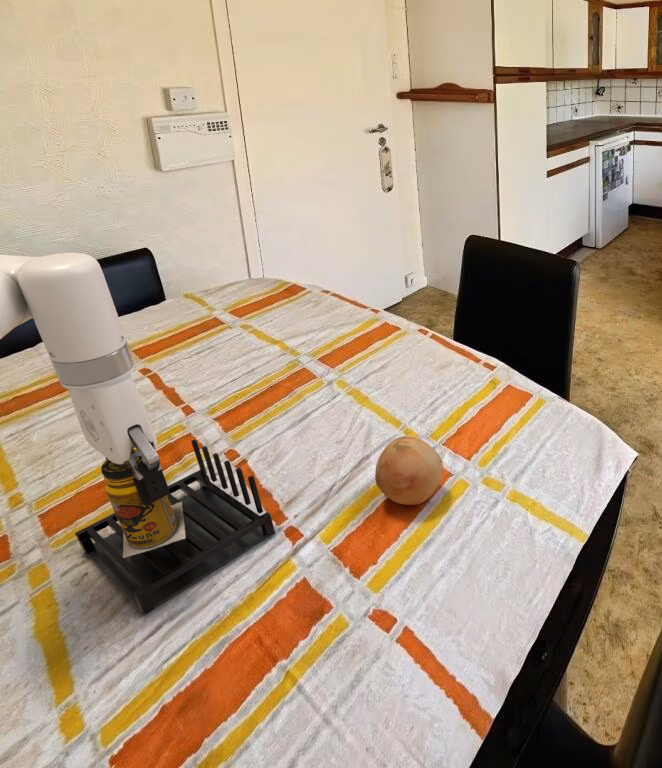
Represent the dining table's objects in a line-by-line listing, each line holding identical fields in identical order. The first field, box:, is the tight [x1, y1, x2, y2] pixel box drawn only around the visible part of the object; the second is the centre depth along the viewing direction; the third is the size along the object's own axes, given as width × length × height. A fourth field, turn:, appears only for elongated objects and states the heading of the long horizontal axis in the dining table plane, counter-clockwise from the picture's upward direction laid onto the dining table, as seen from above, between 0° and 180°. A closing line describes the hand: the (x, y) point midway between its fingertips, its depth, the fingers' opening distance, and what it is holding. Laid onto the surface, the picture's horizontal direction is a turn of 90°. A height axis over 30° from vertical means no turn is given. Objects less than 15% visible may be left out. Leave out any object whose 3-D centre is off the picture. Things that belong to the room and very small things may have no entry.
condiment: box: [101, 449, 186, 558], centre depth 81 cm, size 7×8×12 cm
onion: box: [374, 436, 444, 506], centre depth 91 cm, size 10×10×10 cm
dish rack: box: [74, 439, 276, 616], centre depth 84 cm, size 18×18×9 cm
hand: (142, 487), depth 80 cm, fingers open, 6 cm apart
